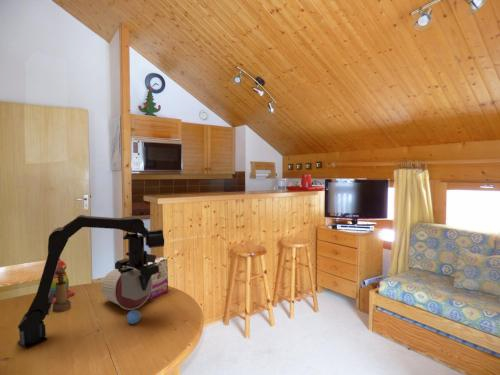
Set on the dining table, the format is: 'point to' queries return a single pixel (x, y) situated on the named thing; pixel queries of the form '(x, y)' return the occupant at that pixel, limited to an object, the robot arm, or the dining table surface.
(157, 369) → the dining table surface
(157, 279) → the candy bar box
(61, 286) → the brown turned post
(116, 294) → the canister
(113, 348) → the dining table surface
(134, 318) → the ball
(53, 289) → the stacking bear
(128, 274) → the grey matte cube
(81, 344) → the dining table surface
